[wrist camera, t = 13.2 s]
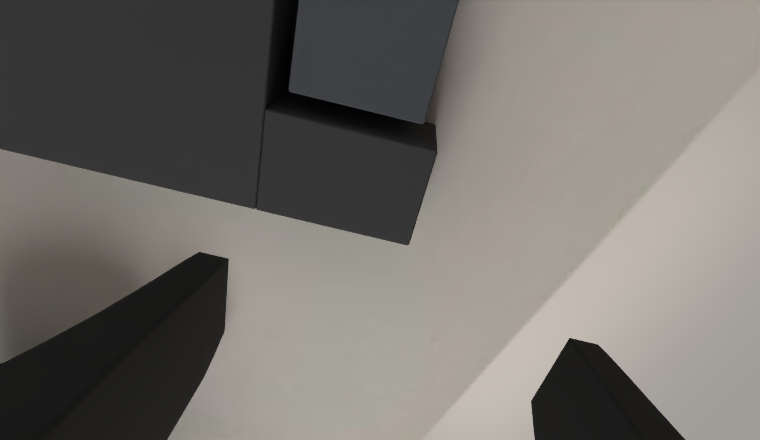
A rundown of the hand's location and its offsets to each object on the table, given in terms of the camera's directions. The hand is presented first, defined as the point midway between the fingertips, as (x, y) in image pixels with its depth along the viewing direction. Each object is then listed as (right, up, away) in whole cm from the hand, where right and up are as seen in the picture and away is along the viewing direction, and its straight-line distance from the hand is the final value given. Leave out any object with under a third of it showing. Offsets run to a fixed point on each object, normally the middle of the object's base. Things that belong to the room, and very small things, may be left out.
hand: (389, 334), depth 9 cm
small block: (0, +10, +7) cm, 12 cm away
